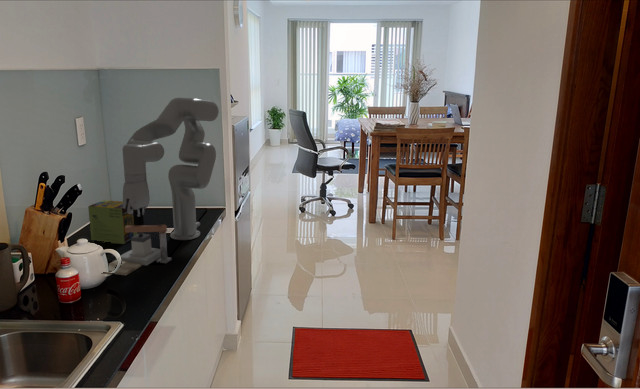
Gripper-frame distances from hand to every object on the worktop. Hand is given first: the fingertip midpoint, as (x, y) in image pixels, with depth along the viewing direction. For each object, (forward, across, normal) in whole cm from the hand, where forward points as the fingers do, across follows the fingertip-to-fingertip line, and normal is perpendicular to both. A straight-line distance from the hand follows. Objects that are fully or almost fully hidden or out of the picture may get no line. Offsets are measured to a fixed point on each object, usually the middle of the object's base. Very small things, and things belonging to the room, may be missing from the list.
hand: (139, 225), depth 179 cm
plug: (+13, -1, 0) cm, 14 cm away
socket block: (+13, -1, 0) cm, 14 cm away
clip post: (+13, -1, +9) cm, 16 cm away
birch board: (+13, +10, -1) cm, 17 cm away
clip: (+2, +1, +4) cm, 4 cm away
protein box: (+14, -16, -24) cm, 32 cm away
